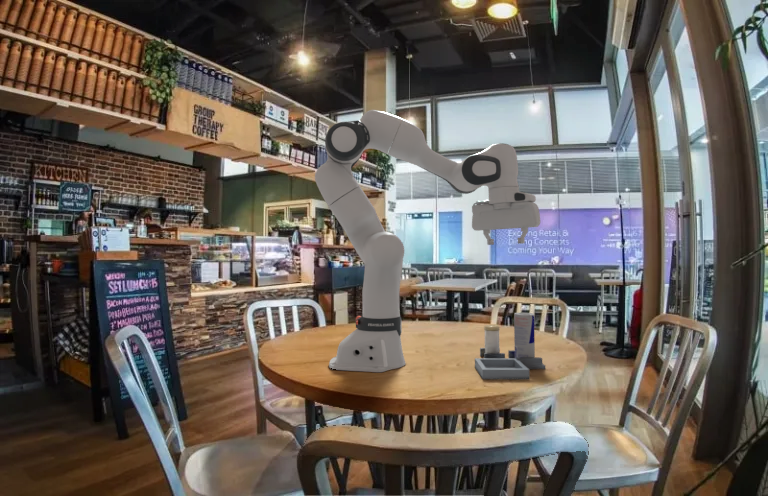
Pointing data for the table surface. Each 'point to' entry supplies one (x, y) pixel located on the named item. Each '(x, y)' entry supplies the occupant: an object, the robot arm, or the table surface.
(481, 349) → the clip
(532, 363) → the grey stepped base
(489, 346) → the cylinder
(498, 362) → the tray
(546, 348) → the table surface
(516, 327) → the beverage can
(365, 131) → the robot arm
